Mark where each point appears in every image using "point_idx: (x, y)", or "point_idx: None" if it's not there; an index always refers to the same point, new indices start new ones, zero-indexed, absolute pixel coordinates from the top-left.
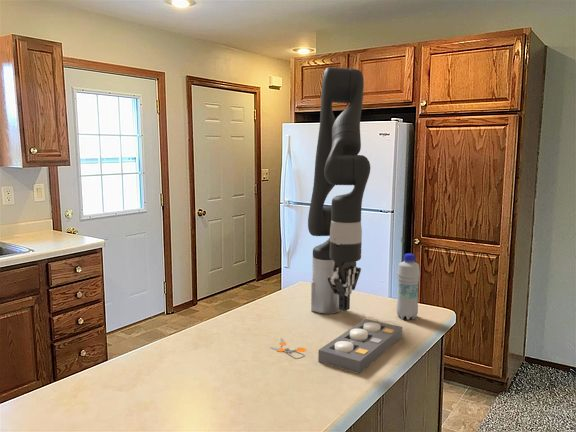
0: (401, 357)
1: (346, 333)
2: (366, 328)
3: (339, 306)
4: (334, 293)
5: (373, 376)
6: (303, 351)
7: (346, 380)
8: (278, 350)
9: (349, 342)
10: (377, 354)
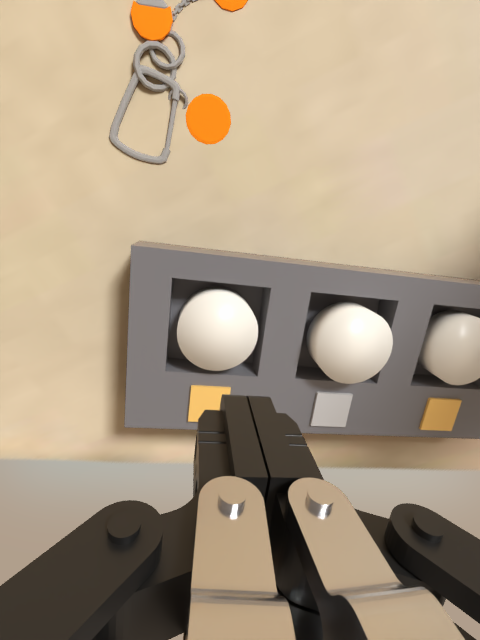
0: None
1: (361, 282)
2: (434, 340)
3: (198, 422)
4: (96, 521)
5: (141, 441)
6: (197, 136)
7: (63, 385)
8: (138, 7)
9: (252, 342)
10: None
